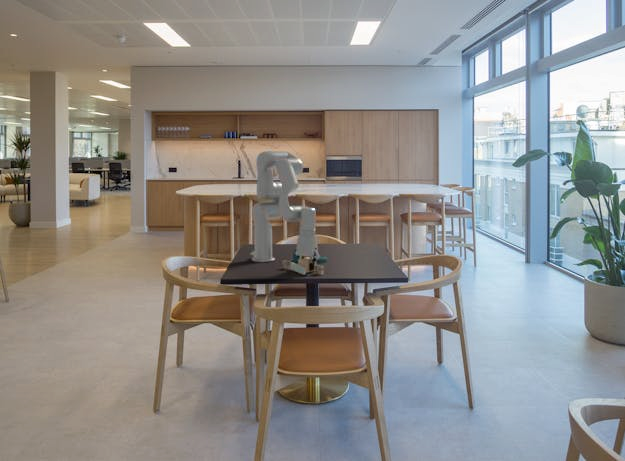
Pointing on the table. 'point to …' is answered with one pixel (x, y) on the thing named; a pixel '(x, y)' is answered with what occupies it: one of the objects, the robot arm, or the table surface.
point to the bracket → (295, 258)
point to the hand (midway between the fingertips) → (307, 269)
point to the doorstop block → (305, 263)
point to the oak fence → (318, 269)
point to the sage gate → (298, 268)
